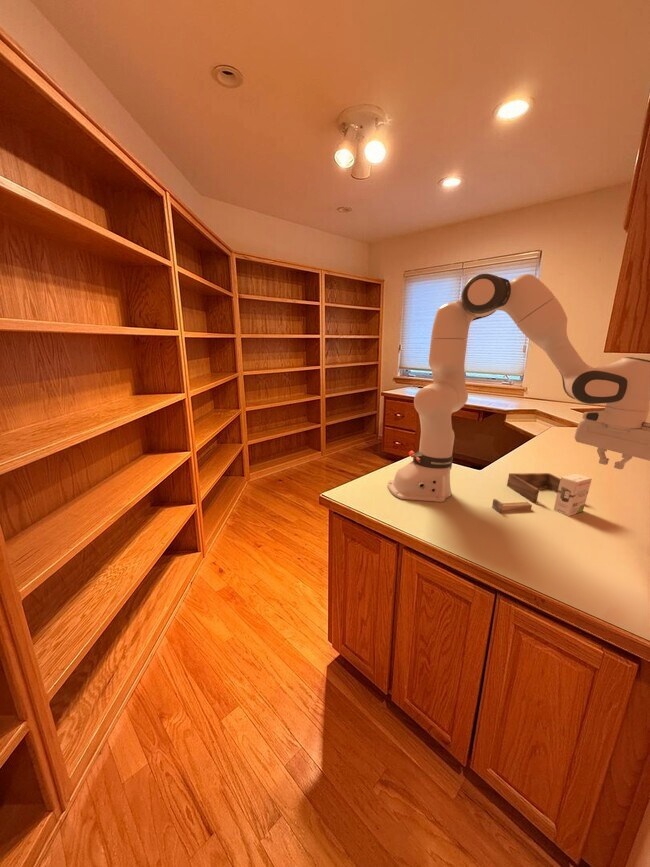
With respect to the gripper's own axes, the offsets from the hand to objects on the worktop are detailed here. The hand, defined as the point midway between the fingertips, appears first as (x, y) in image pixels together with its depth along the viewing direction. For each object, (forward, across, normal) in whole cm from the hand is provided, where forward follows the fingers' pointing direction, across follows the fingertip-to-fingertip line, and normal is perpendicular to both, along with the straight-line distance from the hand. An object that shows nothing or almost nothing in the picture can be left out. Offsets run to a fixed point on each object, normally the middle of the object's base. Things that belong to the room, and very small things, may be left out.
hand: (610, 466), depth 92 cm
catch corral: (+19, +20, -6) cm, 29 cm away
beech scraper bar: (+19, +16, +15) cm, 29 cm away
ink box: (+19, +9, -3) cm, 22 cm away
